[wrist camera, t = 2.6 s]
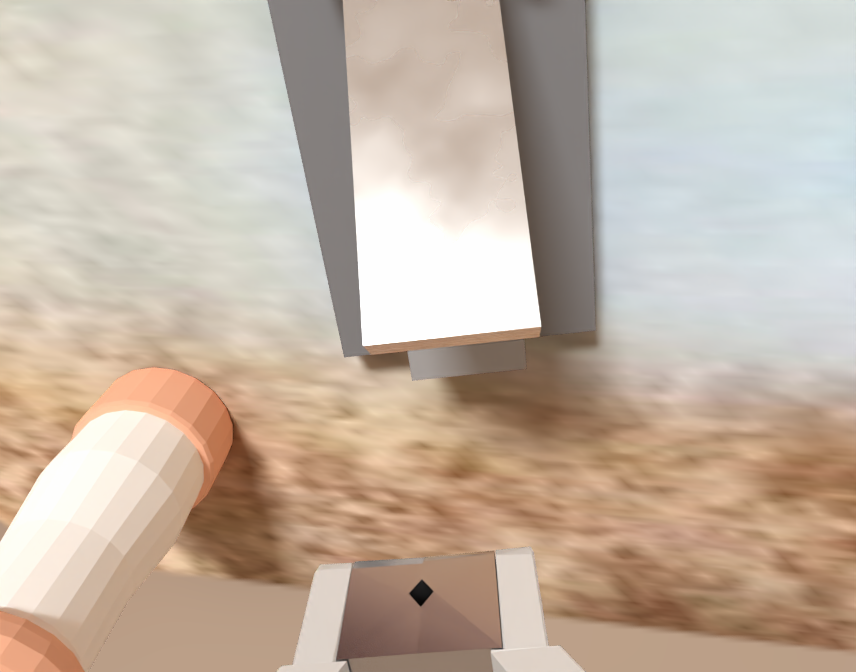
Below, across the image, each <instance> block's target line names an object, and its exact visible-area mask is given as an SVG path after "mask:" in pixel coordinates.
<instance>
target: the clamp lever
mask: <svg viewBox="0 0 856 672" xmlns="http://www.w3.org/2000/svg"><path fill="white" fill-rule="evenodd" d="M343 13H344V30H345V47H346V65H347V82H348V99H349V116H350V133H351V150H352V167H353V184H354V201H355V218H356V235H357V252H358V269H359V286H360V303H361V320H362V337H363V346H364V347H365V349H366V350H367V351H368V352H369V353H370V354H371V355H375V354H385V353H394V352H404V351H413V350H422V349H432V348H441V347H451V346H460V345H469V344H479V343H488V342H498V341H507V340H516V339H526V338H535V337H539V336H540V331H541V320H540V313H539V305H538V297H537V289H536V282H535V274H534V266H533V258H532V250H531V243H530V235H529V227H528V219H527V212H526V204H525V196H524V188H523V181H522V173H521V165H520V157H519V150H518V142H517V134H516V126H515V118H514V111H513V103H512V95H511V87H510V80H509V72H508V64H507V56H506V49H505V41H504V33H503V25H502V18H501V10H500V2H499V0H343Z"/></svg>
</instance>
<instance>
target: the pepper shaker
mask: <svg viewBox="0 0 856 672" xmlns="http://www.w3.org/2000/svg"><path fill="white" fill-rule="evenodd" d="M232 443H233V424H232V422H231V419H230V416H229V414H228V411H227V408H226V407H225V405H224V404H223V403H222V401H221V400H220V399H219V398H218V396H217V395H216V394H215V393H214V391H212V390H211V389H210V388H208V387H207V386H206V385H204V384H203V383H202V382H200V381H199V380H198V379H196V378H194V377H191V376H189V375H186V374H184V373H181V372H179V371H176V370H171V369H163V368H155V367H152V368H146V369H140V370H134V371H132V372H130V373H128V374H126V375H124V376H122V377H120V378H119V379H117V380H116V381H115V382H114V383H113V384H112V385H111V386H110V387H109V389H108V390H107V391H106V392H105V393H104V394H103V395H102V396H101V397H100V398H99V399H98V401H97V402H96V403H95V404H94V405H93V406H92V407H91V408H90V409H89V410H88V411H87V413H86V414H85V415H84V416H83V417H82V418H81V420H80V421H79V422H78V423H77V424H76V426H75V428H74V432H73V436H72V439H71V442H70V443H69V444H68V445H67V446H66V447H65V448H64V449H63V450H62V451H61V452H60V453H59V454H58V455H57V456H56V457H55V458H54V459H53V460H52V461H51V463H50V464H49V465H48V466H47V467H46V468H45V470H44V471H43V472H42V473H41V474H40V476H39V477H38V479H37V481H36V482H35V484H34V486H33V488H32V489H31V491H30V493H29V494H28V496H27V498H26V499H25V501H24V503H23V504H22V506H21V508H20V509H19V511H18V513H17V515H16V516H15V518H14V520H13V521H12V523H11V525H10V526H9V528H8V530H7V531H6V533H5V535H4V537H3V538H2V540H1V542H0V672H89V670H90V668H91V666H92V665H93V663H94V661H95V659H96V658H97V656H98V654H99V652H100V651H101V649H102V647H103V645H104V644H105V642H106V640H107V638H108V636H109V634H110V633H111V631H112V629H113V628H114V626H115V624H116V622H117V620H118V619H119V617H120V615H121V613H122V612H123V610H124V608H125V606H126V605H127V602H128V601H129V600H130V599H131V597H132V596H133V595H134V593H135V592H136V591H137V590H138V589H139V587H140V586H141V585H142V584H143V582H144V581H145V580H146V579H147V577H148V576H149V575H150V574H151V572H152V571H153V570H154V569H155V567H156V566H157V565H158V564H159V562H160V561H161V560H162V559H163V557H164V556H165V555H166V554H167V552H168V551H169V550H170V549H171V547H172V546H173V545H174V544H175V542H176V540H177V538H178V536H179V534H180V532H181V530H182V528H183V526H184V524H185V521H186V519H187V517H188V515H189V513H190V511H191V509H192V508H194V507H196V506H197V505H198V504H199V503H200V502H201V501H202V500H203V499H204V498H205V497H206V496H207V495H208V493H209V491H210V489H211V487H212V485H213V483H214V481H215V479H216V477H217V475H218V473H219V471H220V469H221V467H222V465H223V463H224V461H225V459H226V458H227V455H228V453H229V450H230V448H231V445H232Z"/></svg>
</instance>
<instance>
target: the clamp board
mask: <svg viewBox="0 0 856 672" xmlns="http://www.w3.org/2000/svg"><path fill="white" fill-rule="evenodd" d="M499 2H500V10H501V18H502V25H503V33H504V41H505V49H506V56H507V64H508V72H509V80H510V87H511V95H512V103H513V111H514V118H515V126H516V134H517V142H518V150H519V157H520V165H521V173H522V181H523V188H524V196H525V204H526V212H527V219H528V227H529V235H530V243H531V250H532V258H533V266H534V274H535V282H536V289H537V297H538V305H539V313H540V320H541V331H540V336H548V335H558V334H567V333H576V332H586V331H595V330H596V324H595V293H594V262H593V231H592V201H591V170H590V139H589V108H588V77H587V47H586V16H585V0H499ZM268 4H269V9H270V14H271V18H272V23H273V28H274V32H275V37H276V42H277V46H278V51H279V56H280V60H281V65H282V70H283V74H284V79H285V84H286V88H287V93H288V98H289V102H290V107H291V112H292V116H293V121H294V126H295V130H296V135H297V140H298V144H299V149H300V153H301V158H302V163H303V167H304V172H305V177H306V181H307V186H308V191H309V195H310V200H311V205H312V209H313V214H314V219H315V223H316V228H317V233H318V237H319V242H320V247H321V251H322V256H323V261H324V265H325V270H326V275H327V279H328V284H329V288H330V293H331V298H332V302H333V307H334V312H335V316H336V321H337V326H338V330H339V335H340V340H341V344H342V349H343V354H344V357H351V356H360V355H370V353H369V352H368V351H367V350H366V349H365V347H364V346H363V337H362V320H361V303H360V286H359V269H358V252H357V235H356V218H355V201H354V184H353V167H352V150H351V133H350V116H349V99H348V82H347V65H346V47H345V30H344V13H343V0H268ZM408 358H409V364H410V370H411V376H412V381H413V380H423V379H433V378H443V377H452V376H462V375H472V374H482V373H492V372H501V371H511V370H521V369H527V366H526V354H525V342H524V339H516V340H507V341H498V342H488V343H479V344H469V345H460V346H451V347H441V348H432V349H422V350H413V351H408Z"/></svg>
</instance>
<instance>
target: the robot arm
mask: <svg viewBox="0 0 856 672" xmlns="http://www.w3.org/2000/svg"><path fill="white" fill-rule="evenodd" d="M276 672H586V671H585V670H584V669H583V668H582V667H581V666H580V665H579V664H578V663H577V662H576V661H575V660H574V659H573V658H572V657H571V656H570V655H569V654H568V653H567V652H566V651H565V650H564V649H563V648H562V647H561V646H549V644H548V638H547V632H546V626H545V619H544V613H543V607H542V601H541V595H540V588H539V582H538V576H537V570H536V564H535V558H534V552H533V550H532V549H531V547H522V548H512V549H502V550H496V559H495V552H494V551H485V552H474V553H463V554H453V555H442V556H432V557H425V558H408V559H392V560H375V561H359V562H355V563H340V564H320V566H319V567H318V569H317V570H316V572H315V573H314V577H313V581H312V585H311V589H310V594H309V598H308V602H307V606H306V610H305V614H304V619H303V623H302V627H301V631H300V635H299V639H298V643H297V647H296V652H295V656H294V660H293V664H292V665H285V666H281V667H280V668H279V669H278V670H277V671H276Z"/></svg>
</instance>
